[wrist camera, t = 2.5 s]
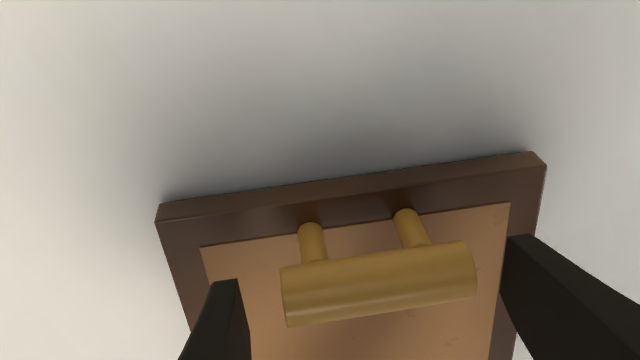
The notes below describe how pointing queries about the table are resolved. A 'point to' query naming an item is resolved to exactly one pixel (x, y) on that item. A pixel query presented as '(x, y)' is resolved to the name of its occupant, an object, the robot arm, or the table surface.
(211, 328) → the robot arm
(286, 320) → the picture frame
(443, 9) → the table surface
